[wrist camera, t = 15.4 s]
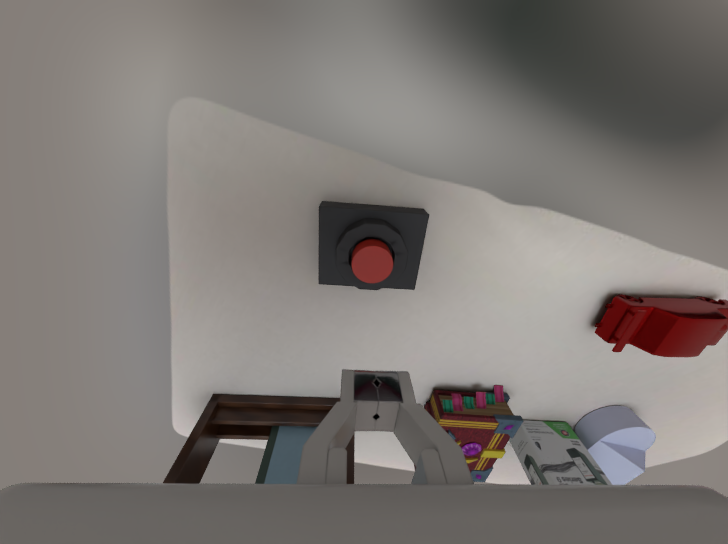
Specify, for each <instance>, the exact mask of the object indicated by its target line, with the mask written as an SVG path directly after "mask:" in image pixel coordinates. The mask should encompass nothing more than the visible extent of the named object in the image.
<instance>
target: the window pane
mask: <svg viewBox="0 0 728 544" xmlns="http://www.w3.org/2000/svg"><path fill="white" fill-rule="evenodd" d="M316 428H317V427H309V426H272V428H271V432H270V435H269V439H268V442H267V445H266V449H265V452H264V456H263V459H262V462H261V465H260V469H259V472H258V476H257V479H256V483H255V484H296V483H297V477H298V472H299V466H300V460H301V454H302V449H303V445H304V444H305V443H306V441H307V440H308V439H309V437H310V436H311V435H312V433H313V432H314V431H315V430H316Z"/></svg>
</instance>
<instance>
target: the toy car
mask: <svg viewBox="0 0 728 544" xmlns="http://www.w3.org/2000/svg"><path fill="white" fill-rule="evenodd" d="M606 305H608V306H605V307H606V308H608V309H607V311H606V313H605V314H604V316H603V318H602V320H601V322H600V323H596V325H595V327H597V329H596V331H595V333H596V334H597V335H598V336H600V337H601V338H602V339H603V340H604V341H606V342H608V343H614V344H616V345H615V347H614V348H613V350H612V351H613V352H621V351H622V349H623V348H624V346H625V345H626V344H631V345H633V346H636V347H638V348H640V349H642V350H644V351H646V352H648V353H650V354H652V355H657V356H663V357H695V356H698V355H699V354H700V353H701V352H702V351H703V349H704V348H705V347H706V346H707V345H716V344H717V343H718V341H719V340H720V339H721V338H722V337H723V335H724V334H725V333H726V332H727V331H728V301H727V300H720V299H719V300H718V301H715V300H713V299H709V298H706V297H698V296H697V297H695V298H694V299H683V298H647V297H639V299H636V298H634V297H631V296H628V295H623V294H618V295H616V297H614V298H613V300H612V302H611V304H606Z"/></svg>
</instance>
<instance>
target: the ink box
mask: <svg viewBox="0 0 728 544" xmlns="http://www.w3.org/2000/svg"><path fill="white" fill-rule="evenodd" d="M509 441H510V443H511V445H512V447H513V449H514V451H515V453H516V455H517V457H518V459H519V461H520V463H521V465H522V467H523V469H524V471H525V473H526V475H527V477H528V479H529V481H530V483H531V485H612V483H611V482H610V480H609V479H608V478H607V476H606V475H605V474H604V472H603V471H602V469H601V468H600V467H599V465H598V464H597V463H596V461H595V460H594V459H593V457H592V456H591V454H590V453H589V452H588V450H587V449H586V448H585V446H584V445H583V443H582V442H581V441H580V439H579V438H578V437H577V435H576V434H575V432H574V431H573V430H572V428H571V427H570V426H569V424H568V423H567V422H548V421H528V420H523V423H522V424H521V426H520V427H519V429H518V430H517V432H516V433H515V435H514V436H513V438H511V437H510V439H509Z"/></svg>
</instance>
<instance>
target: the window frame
mask: <svg viewBox="0 0 728 544" xmlns="http://www.w3.org/2000/svg"><path fill="white" fill-rule="evenodd" d="M336 402H340V398H313V397H283V396H253V395H223V394H213V395H212V397H211V399H210V401H209V402H208V404H207V406H206V408H205V409H204V411H203V413H202V415H201V416H200V418H199V420H198V422H197V423H196V425H195V427H194V429H193V431H192V432H191V434H190V436H189V438H188V439H187V441H186V443H185V445H184V446H183V448H182V450H181V452H180V453H179V455H178V457H177V459H176V460H175V463H174V464H173V466H172V468H171V469H170V471H169V473H168V475H167V476H166V478H165V480H164V482H163V483H181V484H199V483H200V481H201V479H202V477H203V474H204V472H205V470H206V468H207V466H208V464H209V461H210V459H211V457H212V455H213V453H214V450H215V448H216V446H217V444H218V442H219V440H220V439H259V440H268V439H269V435H270V432H271V428H272V426H309V427H318V426H319V424H320V423H321V422H322V420H323V419H324V418H325V417H326V415H327V414H328V413H329V411H330V410H331V409H332V408H333V406H334V405H335V404H336ZM345 450H346V451H347V484H354V434H353V436H352V438H351V440H350V441H349V443H348V445H347V447H346V448H345Z"/></svg>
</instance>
